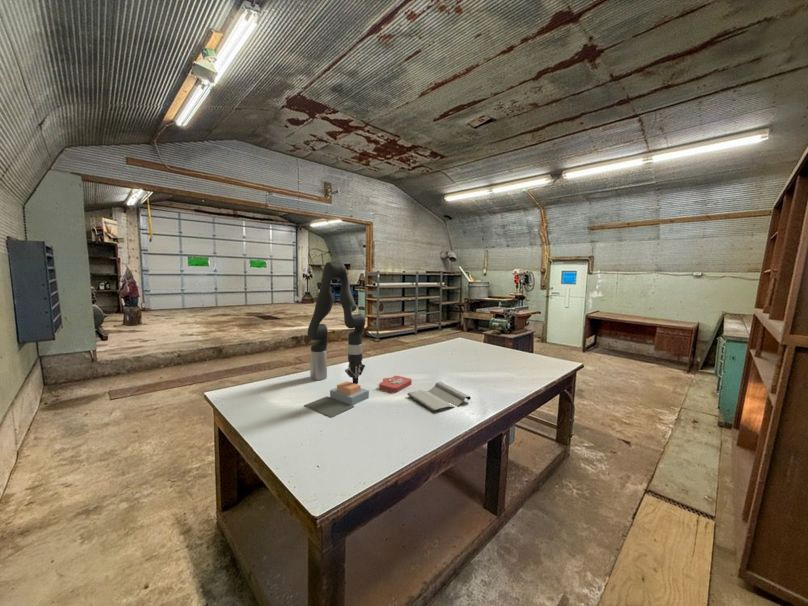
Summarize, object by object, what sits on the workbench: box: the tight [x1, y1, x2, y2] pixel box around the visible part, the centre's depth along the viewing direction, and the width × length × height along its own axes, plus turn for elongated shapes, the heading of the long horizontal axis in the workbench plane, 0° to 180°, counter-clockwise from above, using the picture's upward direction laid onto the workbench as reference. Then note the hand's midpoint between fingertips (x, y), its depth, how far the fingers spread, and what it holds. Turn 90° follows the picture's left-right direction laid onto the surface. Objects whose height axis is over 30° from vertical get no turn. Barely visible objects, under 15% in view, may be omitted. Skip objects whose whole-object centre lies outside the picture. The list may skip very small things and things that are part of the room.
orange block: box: [336, 381, 362, 395], centre depth 163 cm, size 10×7×3 cm
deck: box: [329, 387, 370, 406], centre depth 163 cm, size 16×12×4 cm
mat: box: [406, 381, 471, 413], centre depth 162 cm, size 23×24×5 cm
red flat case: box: [378, 375, 412, 394], centre depth 182 cm, size 18×4×15 cm
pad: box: [303, 395, 355, 418], centre depth 153 cm, size 20×14×1 cm
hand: (355, 384), depth 166 cm, fingers closed
